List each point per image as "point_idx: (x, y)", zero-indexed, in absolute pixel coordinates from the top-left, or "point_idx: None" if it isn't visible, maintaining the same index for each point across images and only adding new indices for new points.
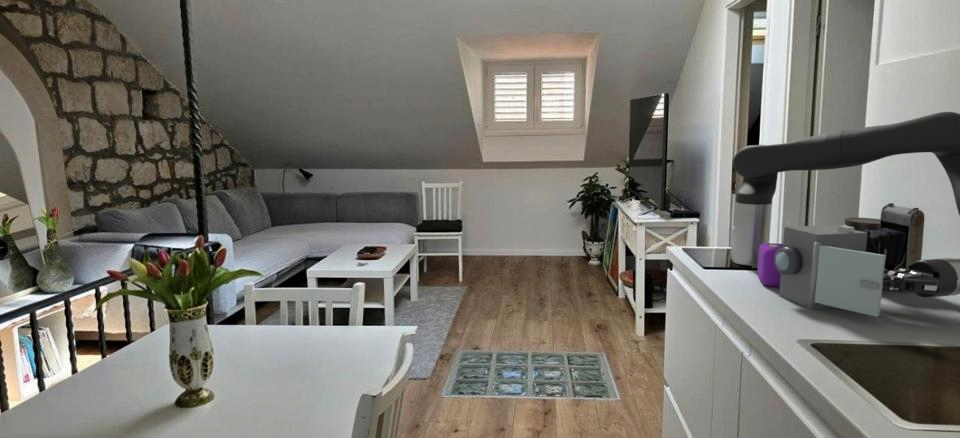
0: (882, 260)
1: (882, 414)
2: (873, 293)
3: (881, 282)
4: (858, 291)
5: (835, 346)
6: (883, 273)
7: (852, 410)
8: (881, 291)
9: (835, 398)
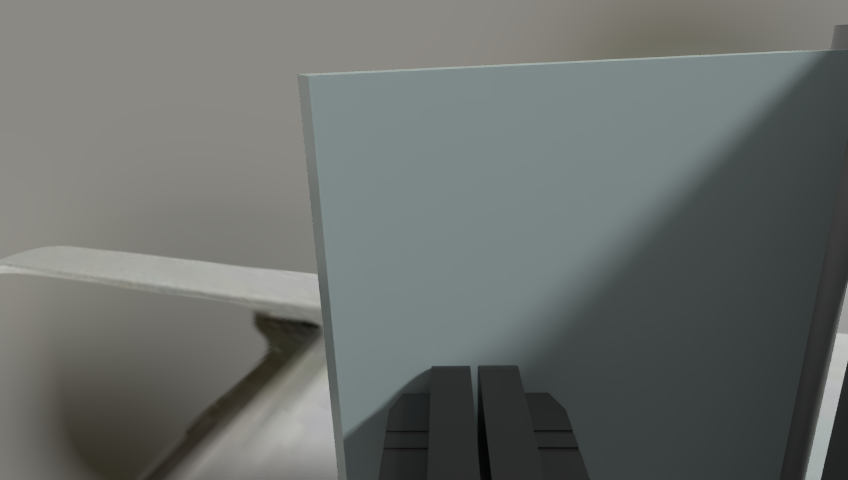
0: (306, 131)
1: (26, 268)
2: None
3: (332, 377)
4: None
5: (267, 356)
6: (329, 301)
7: (74, 253)
8: (344, 475)
9: (113, 255)
